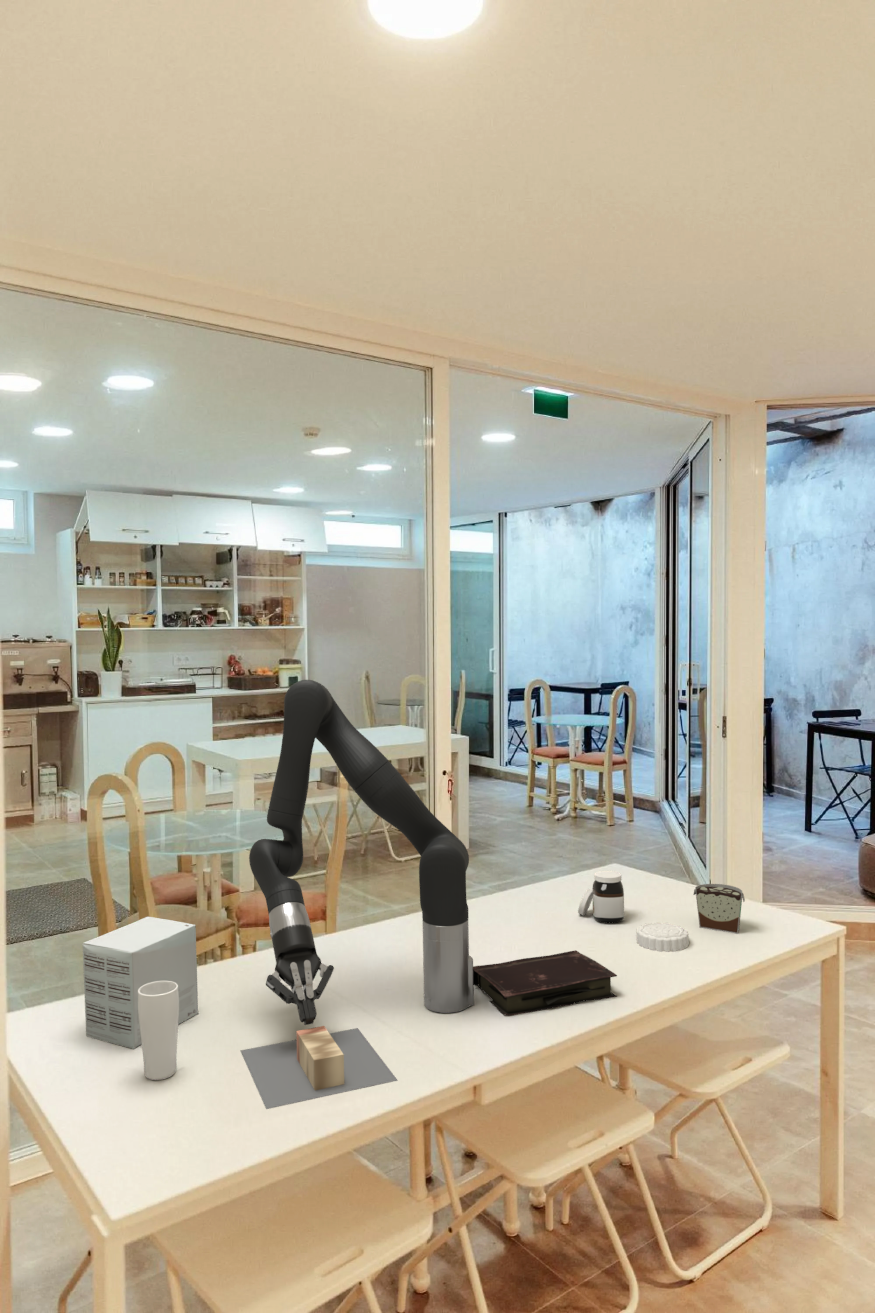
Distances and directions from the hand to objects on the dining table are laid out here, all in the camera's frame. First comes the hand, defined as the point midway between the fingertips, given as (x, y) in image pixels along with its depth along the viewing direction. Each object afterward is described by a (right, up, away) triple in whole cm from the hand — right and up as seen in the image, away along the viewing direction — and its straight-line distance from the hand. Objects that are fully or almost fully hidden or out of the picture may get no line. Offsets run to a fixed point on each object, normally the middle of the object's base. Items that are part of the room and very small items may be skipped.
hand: (309, 1022), depth 164 cm
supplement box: (-34, -7, +15) cm, 38 cm away
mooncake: (+76, -4, +55) cm, 94 cm away
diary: (+44, -5, +28) cm, 53 cm away
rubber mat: (+2, -6, -3) cm, 8 cm away
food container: (+93, -3, +66) cm, 114 cm away
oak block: (0, -3, 0) cm, 3 cm away
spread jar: (+65, -3, +75) cm, 99 cm away
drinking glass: (-25, -7, -5) cm, 26 cm away
